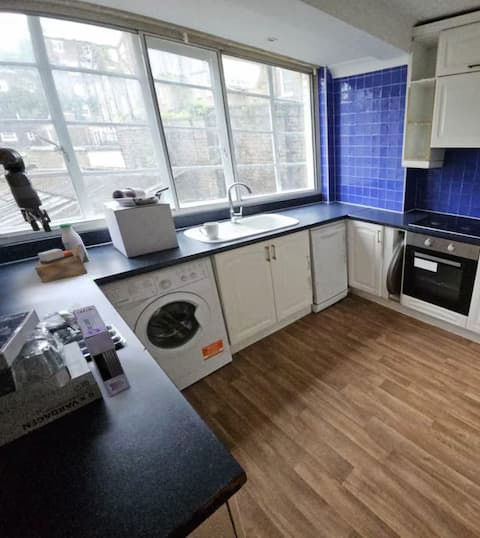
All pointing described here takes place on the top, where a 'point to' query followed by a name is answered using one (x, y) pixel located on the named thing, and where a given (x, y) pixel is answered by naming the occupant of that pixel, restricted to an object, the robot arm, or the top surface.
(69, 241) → the milk bottle
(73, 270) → the tan box with lid
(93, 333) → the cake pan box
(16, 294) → the top surface
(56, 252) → the white bottle red cap
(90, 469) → the top surface
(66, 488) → the top surface
